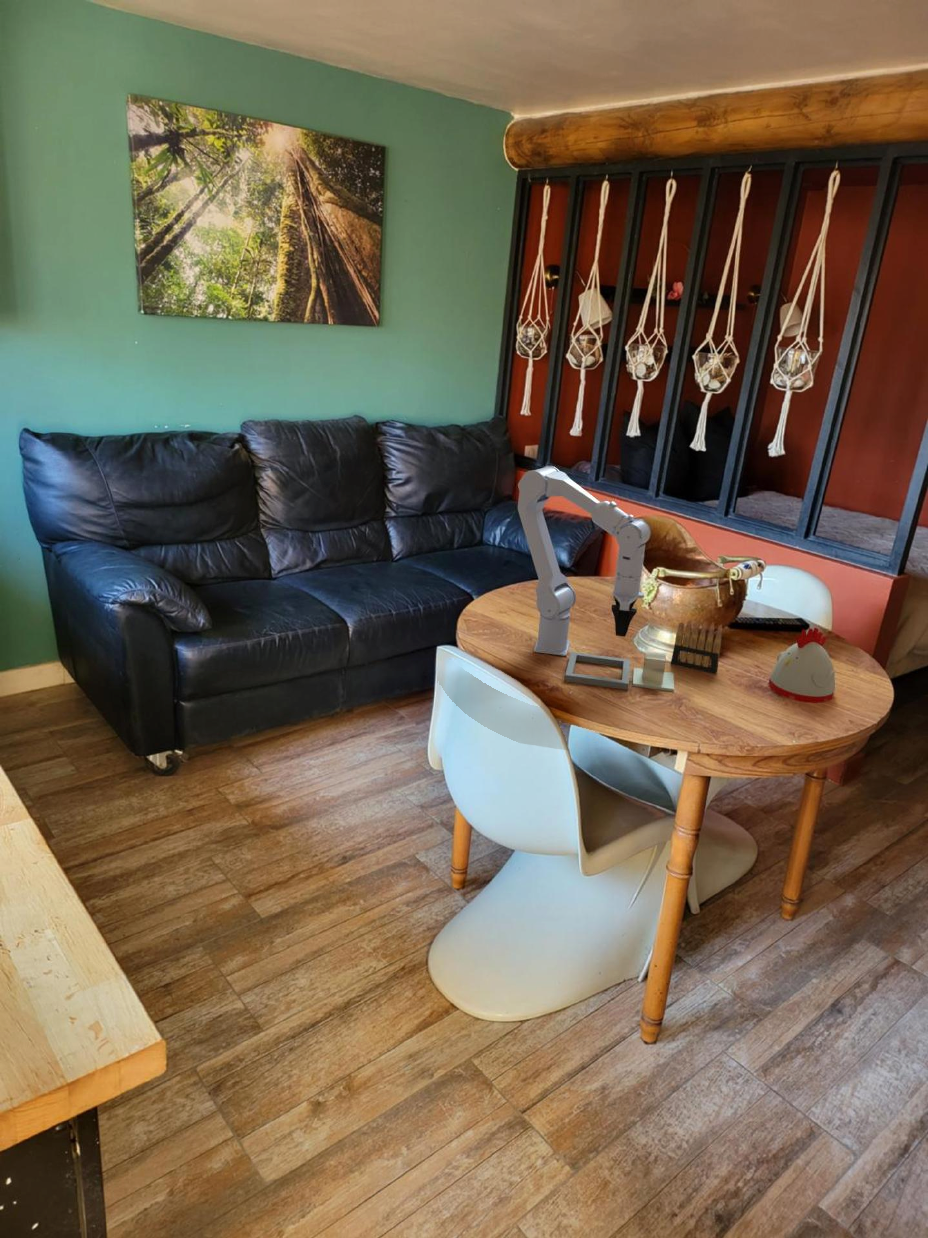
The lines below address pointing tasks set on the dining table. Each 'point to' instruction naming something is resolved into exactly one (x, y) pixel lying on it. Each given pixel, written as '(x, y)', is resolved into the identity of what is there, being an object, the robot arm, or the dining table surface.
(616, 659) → the frame
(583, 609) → the dining table surface
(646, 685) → the green pad
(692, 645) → the ammunition clip
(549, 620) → the robot arm
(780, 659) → the kitchen timer
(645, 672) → the maple block
